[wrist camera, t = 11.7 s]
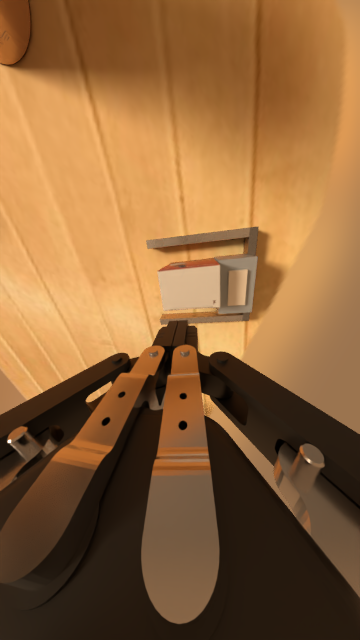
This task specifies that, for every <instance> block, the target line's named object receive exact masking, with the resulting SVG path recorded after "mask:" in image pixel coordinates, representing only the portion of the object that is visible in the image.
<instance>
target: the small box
mask: <svg viewBox="0 0 360 640" xmlns="http://www.w3.org/2000/svg"><path fill="white" fill-rule="evenodd" d="M157 273H158V279H159V286H160V292H161V298H162V304H163V310H164V311H170V310H182V309H197V308H220V306H221V305H220V264H219V263H218V262H217V261H216V260H215V259H214V258H209V259H202V260H194V261H184V262H175V263H170V264H169V265H167V266H165V267H164V268H162V269H160V270H159V271H157Z"/></svg>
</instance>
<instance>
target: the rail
mask: <svg viewBox="0 0 360 640" xmlns="http://www.w3.org/2000/svg"><path fill="white" fill-rule="evenodd" d="M257 236H258V227H251V228H243V229H235V230H227V231H219V232H211V233H203V234H195V235H187V236H179V237H171V238H163V239H155V240H147V241H146V242H147V248H148V249H152V248H160V247H169V246H178V245H186V244H195V243H203V242H212V241H220V240H229V239H238V238H244V252H243V254H246V255H252V256H255V255H256V246H257ZM249 314H250V312H247V313H227V314H218V311H215V312H196V313H178V314H163V315H162V317H161V318H160V322H161V325H162V324H168V323H169V321H176V320H178V321H179V320H188V323H206V322H229V321H249Z"/></svg>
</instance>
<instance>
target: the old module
mask: <svg viewBox="0 0 360 640" xmlns="http://www.w3.org/2000/svg"><path fill="white" fill-rule="evenodd" d="M214 259H215V260H216V261H217V262H218V263H219V264H220V305H221V306H220V308H217V311H218V314H227V313H247V312H252V305H253V296H254V287H255V278H256V268H257V259H258V256H252V255H246V254H239V255H229V256H219V257H214Z"/></svg>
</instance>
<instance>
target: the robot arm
mask: <svg viewBox="0 0 360 640" xmlns="http://www.w3.org/2000/svg"><path fill="white" fill-rule="evenodd" d="M29 37H30V10H29V3H28V0H0V63H2V64H6V65H8V64H14V63H16V62H17V61H19V60H20V59H21V58H22V56H23V55H24V53H25V51H26V49H27V46H28V42H29ZM110 381H111V382H112V386H111V387H110V389H109V390H108V391H107V392H106V393H104V394H103V395H101V396H100V397H98V398H97V399H95V400H94V401H92V402H86V398H87V397H88V396H89V395H90V394H91V393H93V392H94V391H96V390H98V389H99V388H101V387H102V386H104V385H105V384H107V383H109V382H110ZM202 393H204V394H207V395H210V398H211V400H212V401H213V402H214V403H215V404H216V405H217V406H218V408H219V409H220V410H221V411H222V412H223V413H224V414H225V415H226V416H227V417H228V418H229V419H230V420H231V421H232V422H233V423H234V424H235V425H236V427H237V428H239V430H240V431H241V432H242V433H243V434H244V435H245V436H246V437H247V438H248V439H249V440H250V441H251V442H252V443H253V445H255V446H256V448H257V449H258V450H259V451H260V452H261V453H262V454H263V455H264V456H265V457H266V458H267V459H268V460H269V461H270V462H271V464H272V465H273V466H274V470H273V471H274V478H275V481H276V484H277V486H278V488H279V490H280V492H281V493H282V495H283V496H284V498H285V499H286V500H287V502H288V503H289V505H290V506H291V508H292V510H293V512H294V514H295V516H296V517H295V516H294V515H293V513H292V512H291V511H290V510H289V509H288V507H287V506H286V505H285V504H284V502H283V501H282V500H281V499H280V498H279V496H278V495H277V494H276V493H275V491H274V490H273V489H272V488H271V486H270V485H269V484H268V483H267V481H266V480H265V479H264V478H263V477H262V475H261V474H260V473H259V471H258V470H257V469H256V468H255V467H254V465H253V464H252V463H251V462H250V460H249V459H248V458H247V457H246V456H245V454H244V453H243V452H242V450H241V449H240V448H239V447H238V445H237V444H236V443H235V442H234V441H233V439H232V438H231V437H230V436H229V434H228V433H227V432H226V431H225V430H224V429H223V428H222V427H221V426H220V425H219V424H218V423H217V422H215V421H214V420H212V419H211V418H209V417H207V416H205V415H204V411H203V402H202ZM0 640H360V434H358V433H356V432H355V431H353V430H352V429H350V428H348V427H347V426H345V425H344V424H342V423H340V422H339V421H337V420H336V419H334V418H332V417H331V416H329V415H328V414H326V413H324V412H323V411H321V410H319V409H318V408H316V407H315V406H313V405H311V404H310V403H308V402H306V401H305V400H303V399H302V398H300V397H299V396H297V395H295V394H294V393H292V392H291V391H289V390H287V389H286V388H284V387H282V386H281V385H279V384H278V383H276V382H274V381H273V380H271V379H270V378H268V377H266V376H265V375H263V374H262V373H260V372H258V371H257V370H255V369H253V368H252V367H250V366H249V365H247V364H245V363H244V362H242V361H241V360H239V359H237V358H236V357H234V356H233V355H231V354H229V353H226V352H215V353H213V354H211V355H210V357H208V356H204V355H202V354H200V353H199V352H198V336H197V328H196V327H195V326H189V325H188V320H179V321H178V320H176V321H169V323H168V325H167V327H162V328H161V329H160V330H159V332H158V334H157V336H156V338H155V340H154V342H153V345H152V346H151V347H148V348H146V349H145V350H144V351H143V352H142V354H141V356H140V357H136V358H132V359H129V356H128V354H126V353H118V354H115V355H113V356H111V357H109V358H107V359H105V360H103V361H101V362H99V363H97V364H96V365H94V366H92V367H90V368H88V369H86V370H84V371H82V372H80V373H79V374H77V375H75V376H73V377H71V378H69V379H67V380H65V381H64V382H62V383H60V384H58V385H56V386H54V387H52V388H50V389H48V390H47V391H45V392H43V393H41V394H39V395H37V396H35V397H33V398H32V399H30V400H28V401H26V402H24V403H22V404H20V405H18V406H16V407H15V408H13V409H11V410H9V411H7V412H5V413H3V414H1V415H0Z"/></svg>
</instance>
